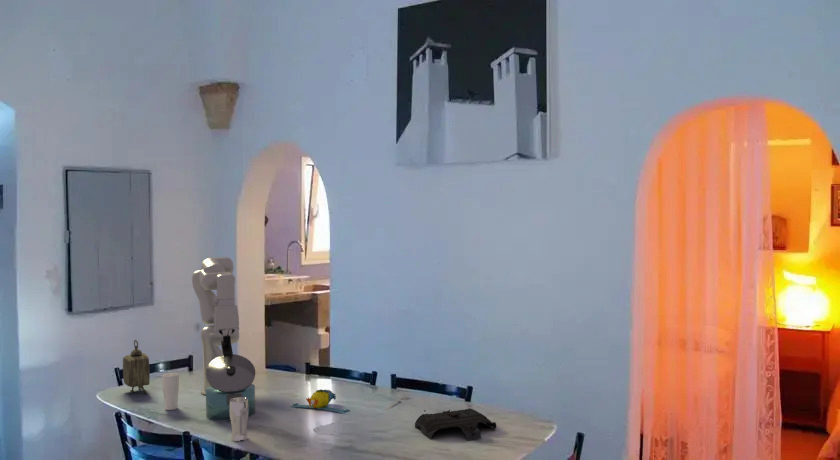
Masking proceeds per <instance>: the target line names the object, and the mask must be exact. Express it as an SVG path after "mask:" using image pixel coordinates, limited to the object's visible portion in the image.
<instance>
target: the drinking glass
mask: <svg viewBox="0 0 840 460" xmlns="http://www.w3.org/2000/svg"><path fill="white" fill-rule="evenodd" d="M179 375H180V374H179V373H177V372H169V373H164V374H162V377H161V378H162V379H161V382H162V392H163V399H164V400H163V401H164V409H165V410H166V411H174V410H177V409H178V408H179V393H180V390H179V389H180V376H179Z"/></svg>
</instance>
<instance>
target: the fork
mask: <svg viewBox="0 0 840 460" xmlns="http://www.w3.org/2000/svg"><path fill="white" fill-rule="evenodd" d="M409 396H410V394H405V393H404V394H403V395H402V396H401V398H399V400H396V401H395V402H394V403H392V404H391V405H390V406H388V407H386V408H385V411H389V410H390V409H392V408H393V407H395V405H396V404H397V403H398V402H399V403H402V401H407V399H408V398H409Z"/></svg>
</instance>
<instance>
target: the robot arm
mask: <svg viewBox="0 0 840 460" xmlns="http://www.w3.org/2000/svg"><path fill="white" fill-rule="evenodd" d="M200 266H201V269H198V270H195V271H194V272H193V273H192V275H191V284H192V288H193V291H194V293H195V295H196V296H197V299H198V301H199V303H198V304H199V311H200V317H201V321H202V323H203V324H204V325H206V326H205V327H203V328H202V329H201V331H200V339H201V346H202V356H203V357H202V361H203V362H202V363H203V364H202V365H203V366H202V367H203V369H202V370H203V388H201V390H200V394H201V395H204V396H206V388H208V387H209V386H210V384H209V383H208V381H207V379H206V369H207V367H208V365H209V363H210V362H211V361H212V360H214V359H215V358H217V357H219V356H222V355H223V354H222V348H220V347H219V346H221V341H223V343H225V345H229V343H231V345H234V344H236V343H238V342H239V340H240V332H239V331H240V317H239V309H238V305H237V304H236V296H235V295H236V293H235V291H236V289H235V288H236V287H235V285H236V277H235V275H234V263H233V260H232V259H231V258H230V257H229V256H228V257H226V256H222V257H221V256H220V257H219V256H217V257H208V258H205V259H204V260H203V261H202V262H201V265H200ZM214 290H215V291H216V293H215V292H214Z"/></svg>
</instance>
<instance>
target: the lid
mask: <svg viewBox="0 0 840 460" xmlns="http://www.w3.org/2000/svg"><path fill="white" fill-rule="evenodd" d="M220 347H221V350H222V354H223V355H222V356H219V357H217V358H215V359H214V360H212V361H211V362H210V363H209V365H208V367H207V369H206V379H207V381H208V383H209V384H210V386H212V387H213V388H214V389H216V390H218V391H221V392H225V393H236V392H240V391H243V390H245V389H246V388H248V387H249V386H250V385H251V384H254V380H255V378H256V369H255V366H254V364H253V362H252V361H251V360H249V358H247V357H245V356H243V355H240V354H234V353H233V348H232V344H231V343H229V345H225V343H223V341H221V345H220Z"/></svg>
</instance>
